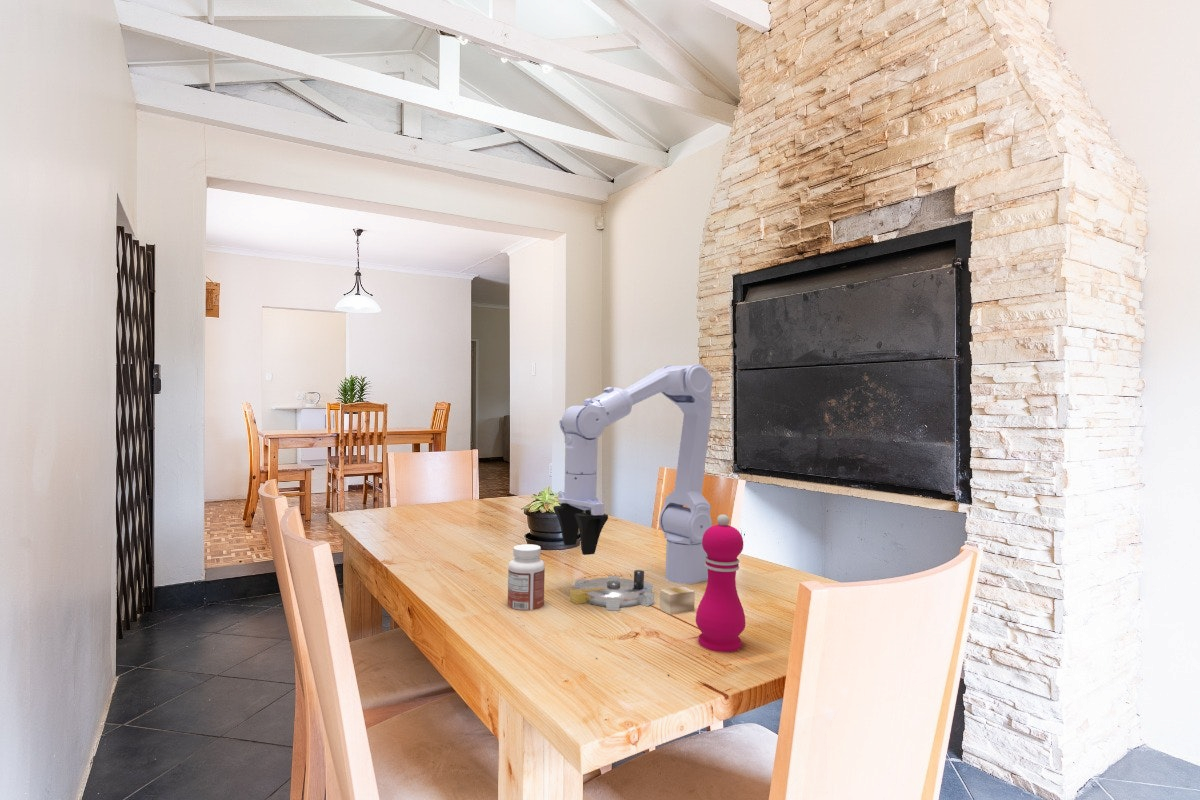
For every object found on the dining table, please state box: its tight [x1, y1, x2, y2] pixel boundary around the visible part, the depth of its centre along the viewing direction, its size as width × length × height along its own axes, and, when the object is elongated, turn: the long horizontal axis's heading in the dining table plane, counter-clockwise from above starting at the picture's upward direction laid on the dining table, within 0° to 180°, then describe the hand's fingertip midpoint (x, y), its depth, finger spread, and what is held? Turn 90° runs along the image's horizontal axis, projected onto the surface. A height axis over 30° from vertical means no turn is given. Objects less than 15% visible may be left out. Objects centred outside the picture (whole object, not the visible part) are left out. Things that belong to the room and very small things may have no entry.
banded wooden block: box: [659, 586, 696, 615], centre depth 107 cm, size 5×3×4 cm, turn 118°
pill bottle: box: [507, 543, 546, 611], centre depth 108 cm, size 6×6×11 cm
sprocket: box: [569, 569, 655, 611], centre depth 113 cm, size 16×14×5 cm
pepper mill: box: [695, 513, 746, 653], centre depth 93 cm, size 7×7×20 cm
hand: (578, 549), depth 112 cm, fingers open, 7 cm apart
